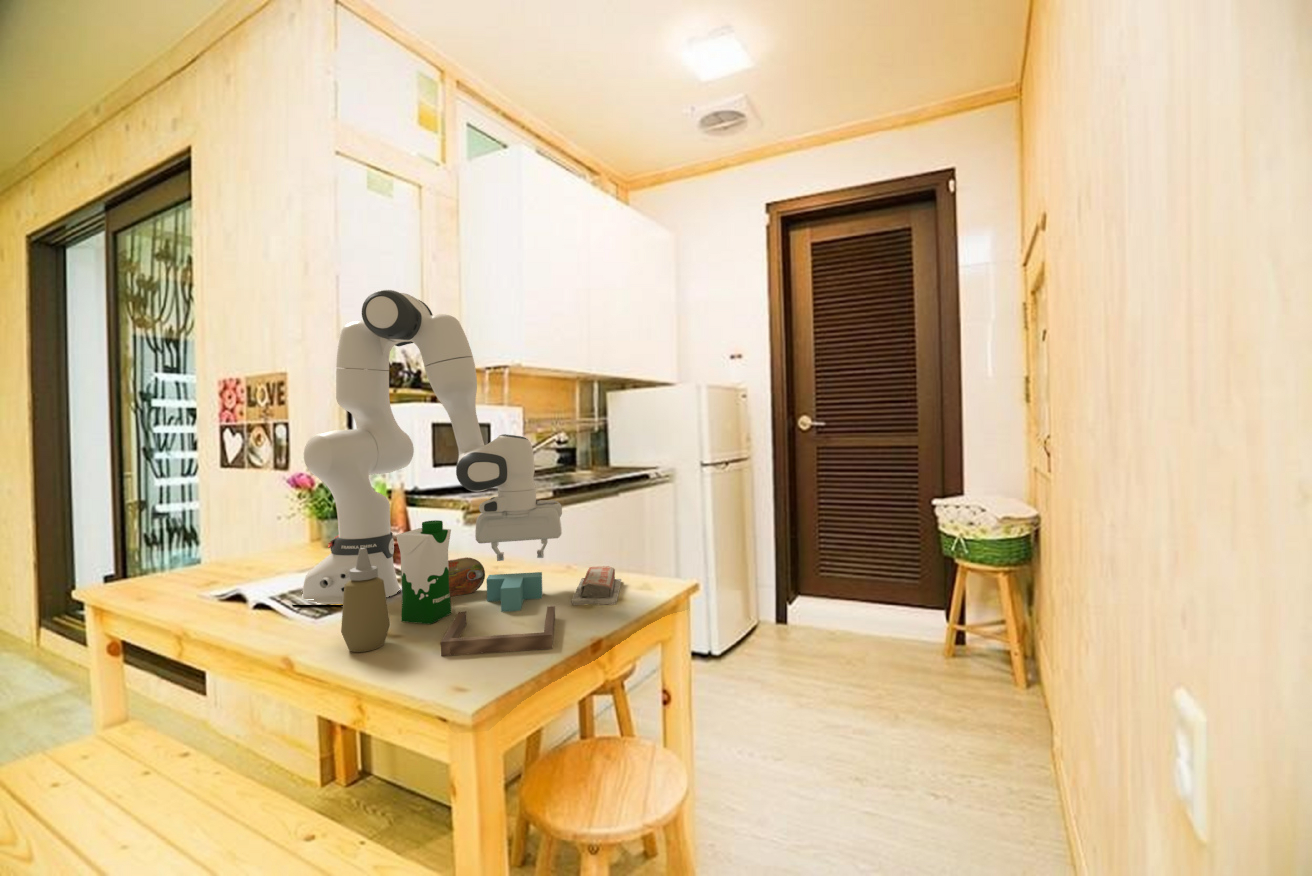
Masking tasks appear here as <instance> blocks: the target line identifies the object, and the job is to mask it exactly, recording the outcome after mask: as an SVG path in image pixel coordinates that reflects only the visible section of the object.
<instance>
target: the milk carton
mask: <svg viewBox="0 0 1312 876" xmlns="http://www.w3.org/2000/svg"><path fill="white" fill-rule="evenodd" d="M443 523H444V522H443V520H436V519H435V520H425V521H423V522H421V527H419V528H415V529H412V530H409V531H404V532H401V533H397V534H396V535H395V537H396V542H397V544H398V548H399V551H400V552H399V553H400V570H401V571H400V574H401V577H400V578H401V611H400V612H401V614H400V616H401V618H400V622H403V623H414V624H422V625H431V624H434V623H436V622H438V621H440V620H441V619H443V618H445V617H447V616H449V615H451V614H452V605H451V597H450V593H449V566H448V560H449V548H450V547H449V546H450V539H451V532H452V529H451V528H444V525H443Z"/></svg>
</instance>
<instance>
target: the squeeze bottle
mask: <svg viewBox="0 0 1312 876" xmlns="http://www.w3.org/2000/svg"><path fill="white" fill-rule="evenodd" d="M349 574H350V581H348V582H347V583H346V584H345V585H344V598H343V606H342V613H341V614H342V617H341V629H340V632H341V636H342V638H343V639H344V642H345V645H346V646H347V649H348V651H351V652H355V653H363V652H370V651H374V650H377V649H379V648H381V647H383V646H384V645H385V642H386V639H387V636H388V632H389V628H390V625H391V624H390V623H391V622H390V616H389V608H388V602H387V601H388V600H387V598H386V594H385V587H384V581H383V579H381V578H379V577H377V576H378V567H376V566H371V563H370V559H369V556H368V552H367V549H366V548H360V549H359V553H358V558H357V564H356V568H352V569H350V571H349Z"/></svg>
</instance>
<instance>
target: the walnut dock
mask: <svg viewBox="0 0 1312 876" xmlns="http://www.w3.org/2000/svg"><path fill="white" fill-rule="evenodd" d="M467 619H468V617H467V610H466V611H463V610H462V611H458V612H457V614H456V615H455V617H454V619H453V621H452V622H451V624H450V625H449V627H448V629H447V631H446V632H445V634H444V635H443V637H442V639H441V641H440V657H448V656H451V657H452V656H464V655H479V654H493V653H494V654H495V653H505V652H507V653H508V652H509V651H510V652H522V651H523V650H525V651H535V650H537V649H539V650H549V649H551V650H552V649H553V646H552V645H553V644H554V635H555V634H554V633H555V623H556V606H555V605H550V606H547V608H546V615H545V620H544V621H545V622H544V627H543V632H541V631H540V632H529V633H514V634H513V633H512V634H511V633H510V634H498V635H484V636H483V635H482V636H481V635H480V636H469V637H468V636H467V637H461V635H462V634H463V631H465V630H464V629H465V628H466V625H467V624H468V623H467ZM510 652H509V653H510Z"/></svg>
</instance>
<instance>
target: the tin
mask: <svg viewBox="0 0 1312 876" xmlns="http://www.w3.org/2000/svg"><path fill="white" fill-rule="evenodd" d="M448 566H449V593H450V598H451V597H456V596H465V595H469V594H472V593H475V592H477V590H479V589H480V588H481V587H482V585H483V583H484V581H485V579H486V571H485V567H484V565H483V564H482V562H481V561H479V560H478V559H476V558H472V557H467V556H466V557H460V558H452V559H448Z"/></svg>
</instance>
